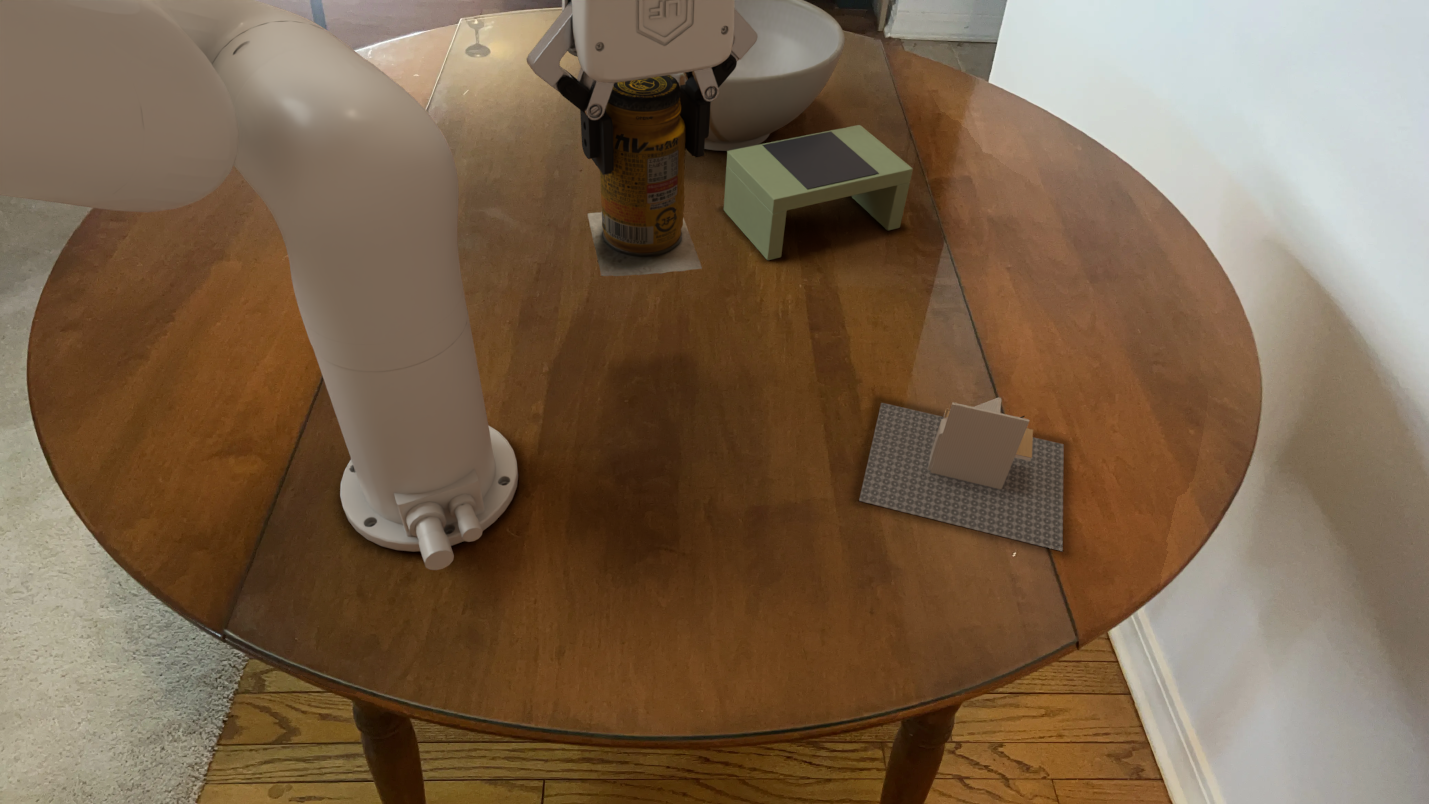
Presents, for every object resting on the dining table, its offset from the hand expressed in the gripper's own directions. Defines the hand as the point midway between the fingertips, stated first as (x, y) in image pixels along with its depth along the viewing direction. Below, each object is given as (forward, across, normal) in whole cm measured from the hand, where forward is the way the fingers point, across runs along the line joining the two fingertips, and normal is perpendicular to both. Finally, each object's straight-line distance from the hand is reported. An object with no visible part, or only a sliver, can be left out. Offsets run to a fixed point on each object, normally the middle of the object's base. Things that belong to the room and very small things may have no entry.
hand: (646, 154), depth 63 cm
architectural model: (+21, +19, -20) cm, 34 cm away
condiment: (+7, 0, 0) cm, 7 cm away
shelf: (+20, +26, +16) cm, 37 cm away
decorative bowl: (+21, +26, +38) cm, 50 cm away
